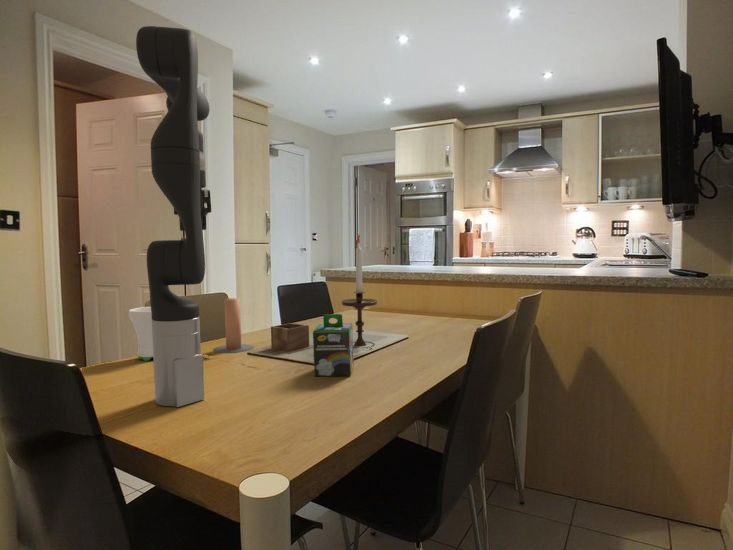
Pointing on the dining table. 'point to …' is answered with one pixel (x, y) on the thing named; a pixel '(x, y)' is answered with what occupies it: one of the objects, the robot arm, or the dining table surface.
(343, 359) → the chalk box
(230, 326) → the dowel
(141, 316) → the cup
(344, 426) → the dining table surface
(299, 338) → the open wooden box
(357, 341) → the candlestick
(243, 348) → the coaster
